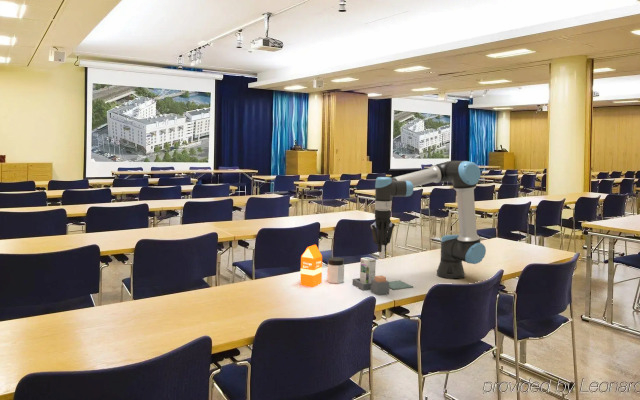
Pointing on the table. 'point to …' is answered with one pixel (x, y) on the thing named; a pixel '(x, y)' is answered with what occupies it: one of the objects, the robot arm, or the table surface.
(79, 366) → the table surface
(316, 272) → the orange juice
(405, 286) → the rubber mat
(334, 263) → the jar
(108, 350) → the table surface
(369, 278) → the syrup box
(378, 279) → the peach square block
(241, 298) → the table surface
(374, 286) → the frame
